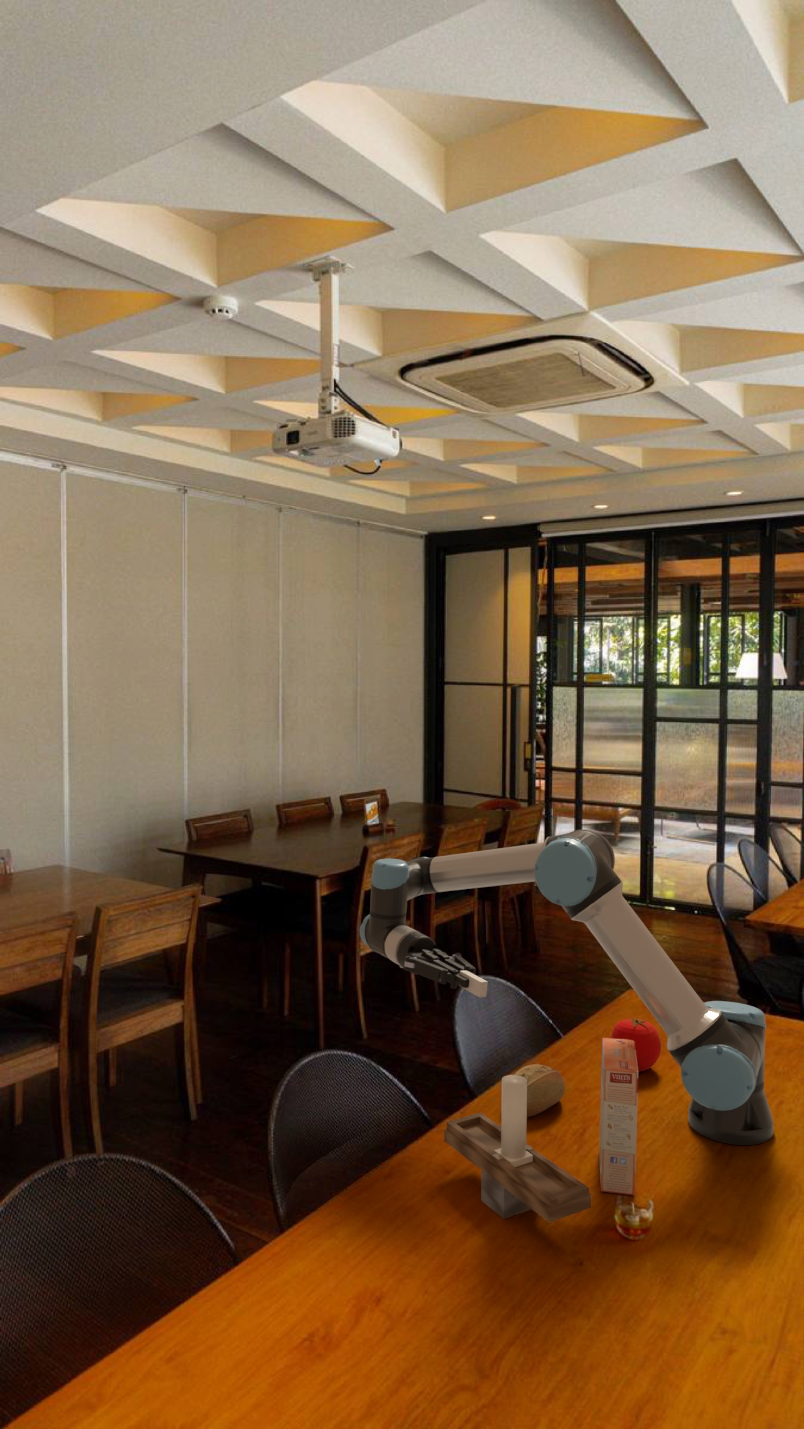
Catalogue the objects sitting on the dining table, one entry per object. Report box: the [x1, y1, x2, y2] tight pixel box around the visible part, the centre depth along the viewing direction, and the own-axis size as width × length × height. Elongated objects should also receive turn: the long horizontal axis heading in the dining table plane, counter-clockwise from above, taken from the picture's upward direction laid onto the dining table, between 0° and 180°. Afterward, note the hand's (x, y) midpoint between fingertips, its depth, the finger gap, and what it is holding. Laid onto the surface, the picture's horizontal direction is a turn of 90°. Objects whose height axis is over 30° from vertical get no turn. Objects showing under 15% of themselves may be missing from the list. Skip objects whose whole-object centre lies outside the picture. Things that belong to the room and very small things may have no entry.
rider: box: [494, 1074, 533, 1167], centre depth 151 cm, size 4×4×13 cm
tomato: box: [610, 1017, 662, 1073], centre depth 204 cm, size 10×11×11 cm
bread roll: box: [513, 1063, 566, 1118], centre depth 185 cm, size 10×15×8 cm, turn 138°
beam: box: [443, 1112, 592, 1224], centre depth 151 cm, size 28×8×8 cm, turn 31°
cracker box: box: [598, 1037, 639, 1196], centre depth 160 cm, size 14×6×21 cm, turn 169°
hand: (483, 989), depth 166 cm, fingers closed
